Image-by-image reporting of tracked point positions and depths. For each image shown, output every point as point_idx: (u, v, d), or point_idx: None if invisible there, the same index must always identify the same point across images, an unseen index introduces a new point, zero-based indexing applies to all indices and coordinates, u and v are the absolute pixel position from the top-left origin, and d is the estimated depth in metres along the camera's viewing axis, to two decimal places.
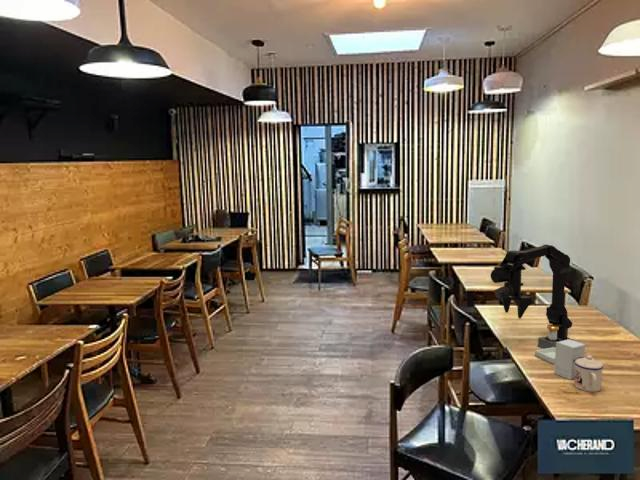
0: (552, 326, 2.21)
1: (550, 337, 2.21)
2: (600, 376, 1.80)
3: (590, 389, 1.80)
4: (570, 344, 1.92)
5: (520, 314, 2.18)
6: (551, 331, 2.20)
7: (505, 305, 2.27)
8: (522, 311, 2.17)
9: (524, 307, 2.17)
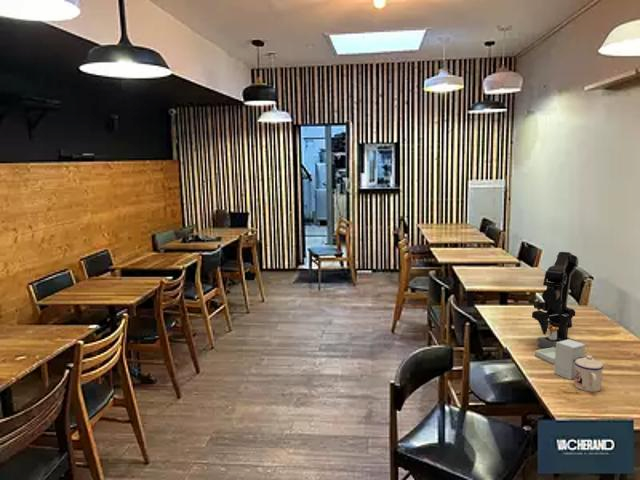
0: (552, 326, 2.21)
1: (550, 337, 2.21)
2: (600, 376, 1.80)
3: (590, 389, 1.80)
4: (570, 344, 1.92)
5: (542, 329, 2.20)
6: (551, 331, 2.20)
7: (560, 323, 2.24)
8: (543, 327, 2.19)
9: (544, 324, 2.18)
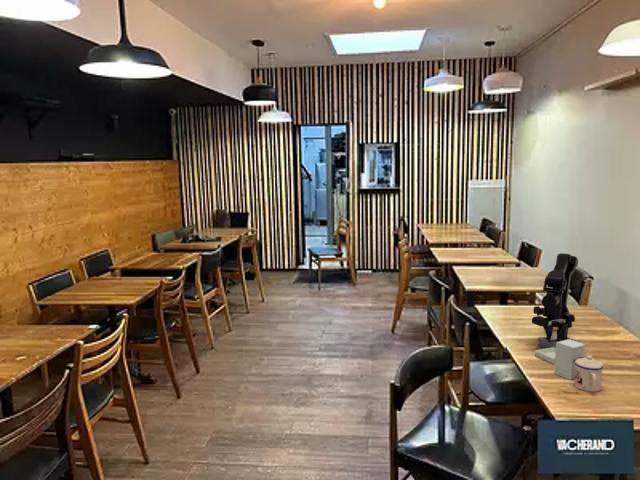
0: None
1: None
2: (600, 376, 1.80)
3: (590, 389, 1.80)
4: (570, 344, 1.92)
5: (547, 334, 2.21)
6: None
7: None
8: (547, 332, 2.20)
9: (548, 328, 2.19)
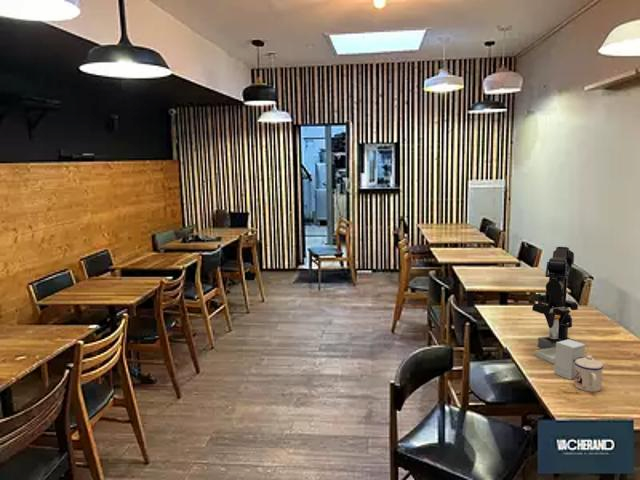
0: None
1: (552, 326, 2.10)
2: (600, 376, 1.80)
3: (590, 389, 1.80)
4: (570, 344, 1.92)
5: (548, 323, 2.10)
6: None
7: None
8: (549, 320, 2.09)
9: (550, 316, 2.08)
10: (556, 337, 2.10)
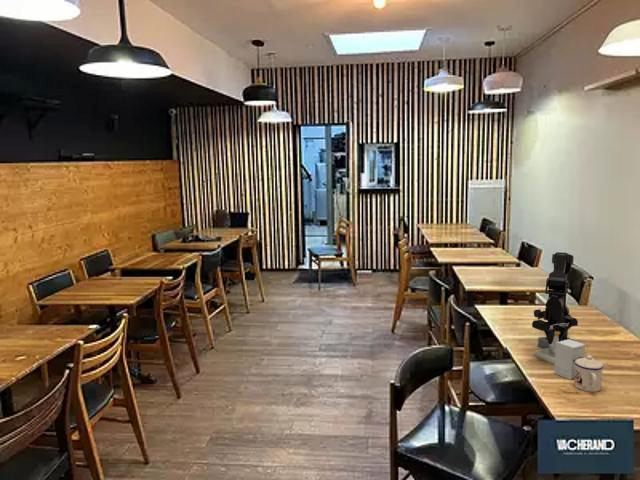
0: None
1: None
2: (600, 376, 1.80)
3: (590, 389, 1.80)
4: (570, 344, 1.92)
5: (548, 339, 2.09)
6: None
7: None
8: (549, 336, 2.08)
9: (549, 333, 2.07)
10: None
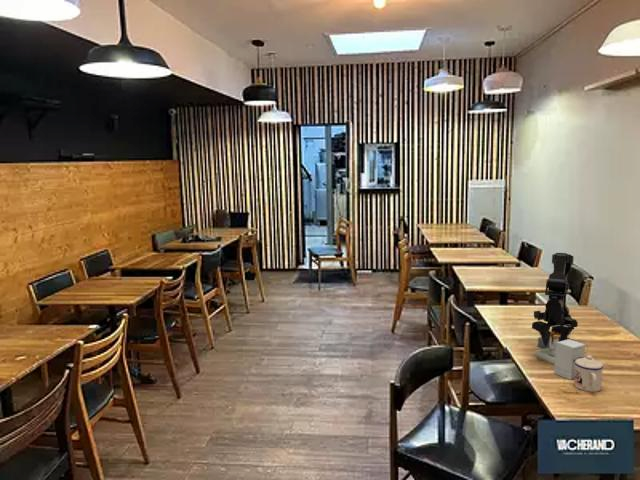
0: (554, 333, 2.09)
1: (551, 345, 2.09)
2: (600, 376, 1.80)
3: (590, 389, 1.80)
4: (570, 344, 1.92)
5: (544, 341, 2.09)
6: (552, 338, 2.09)
7: (561, 335, 2.12)
8: (544, 338, 2.08)
9: (545, 335, 2.07)
10: None
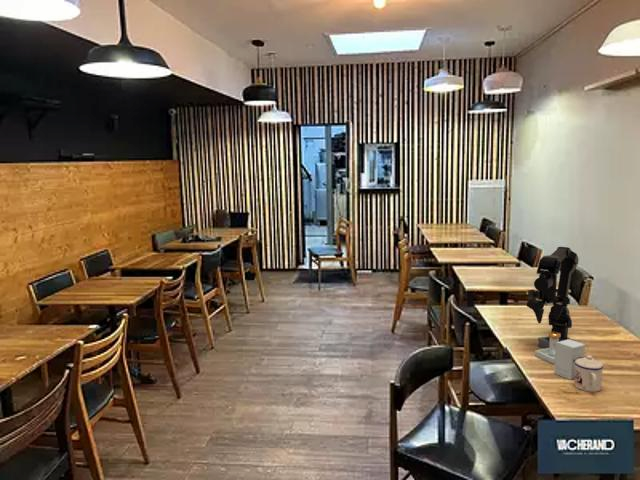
0: (553, 333, 2.09)
1: (551, 345, 2.09)
2: (600, 376, 1.80)
3: (590, 389, 1.80)
4: (570, 344, 1.92)
5: (537, 318, 2.18)
6: (552, 339, 2.09)
7: (555, 312, 2.21)
8: (538, 316, 2.17)
9: (539, 312, 2.16)
10: None
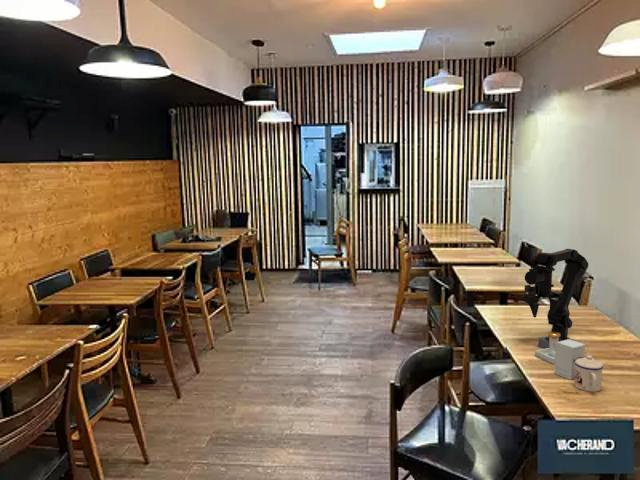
0: (553, 333, 2.09)
1: (551, 345, 2.09)
2: (600, 376, 1.80)
3: (590, 389, 1.80)
4: (570, 344, 1.92)
5: (533, 313, 2.24)
6: (552, 338, 2.09)
7: (550, 307, 2.28)
8: (533, 310, 2.23)
9: (534, 307, 2.22)
10: None
